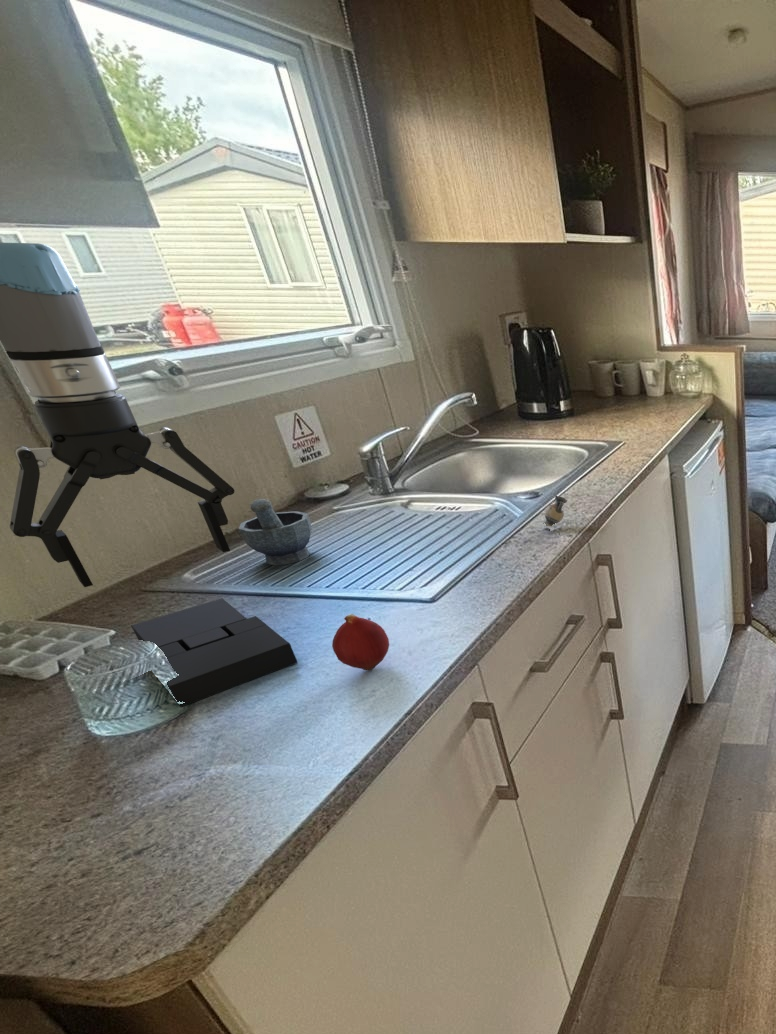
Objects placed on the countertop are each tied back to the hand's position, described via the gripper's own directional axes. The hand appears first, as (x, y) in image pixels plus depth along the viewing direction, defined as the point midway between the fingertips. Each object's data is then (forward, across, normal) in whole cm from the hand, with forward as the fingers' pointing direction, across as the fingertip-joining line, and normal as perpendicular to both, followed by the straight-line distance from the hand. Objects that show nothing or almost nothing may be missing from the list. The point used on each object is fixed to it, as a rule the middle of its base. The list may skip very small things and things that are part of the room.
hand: (159, 565), depth 85 cm
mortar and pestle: (+12, +18, +22) cm, 31 cm away
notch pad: (+11, 0, -11) cm, 16 cm away
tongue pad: (+11, 0, -2) cm, 12 cm away
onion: (+11, +11, -26) cm, 31 cm away
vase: (+11, +56, -2) cm, 57 cm away
